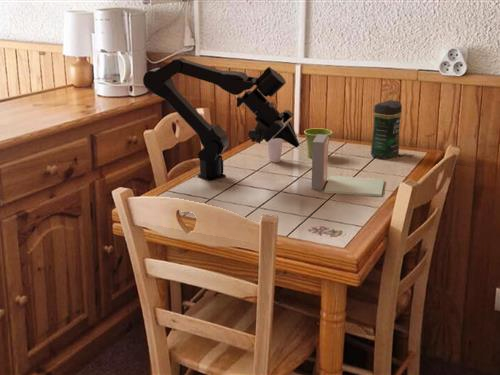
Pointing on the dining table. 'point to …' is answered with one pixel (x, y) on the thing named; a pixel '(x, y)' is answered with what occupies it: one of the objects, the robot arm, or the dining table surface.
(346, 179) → the pad
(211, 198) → the dining table surface
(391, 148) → the coffee jar
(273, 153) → the smoothie
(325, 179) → the slate tile
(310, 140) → the plant pot
